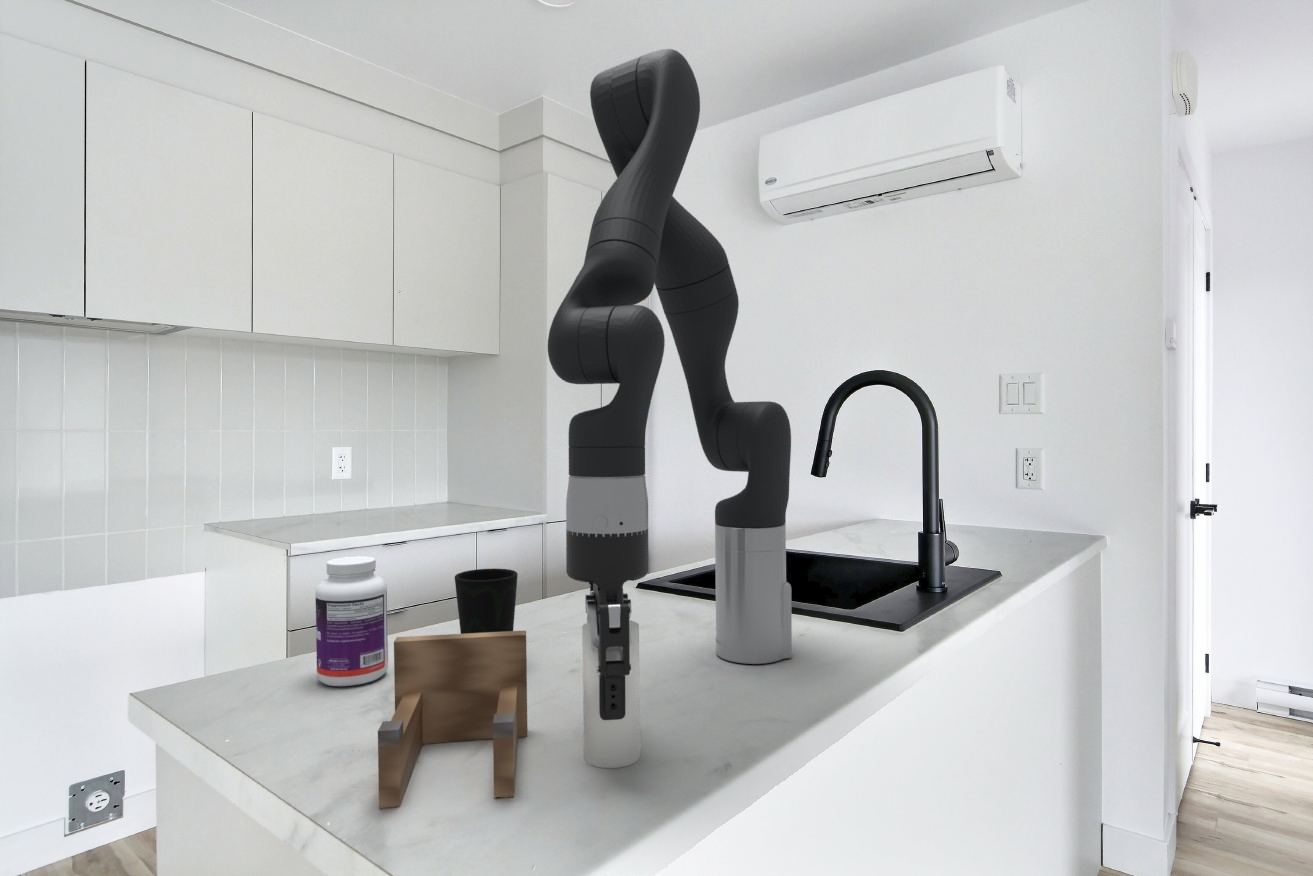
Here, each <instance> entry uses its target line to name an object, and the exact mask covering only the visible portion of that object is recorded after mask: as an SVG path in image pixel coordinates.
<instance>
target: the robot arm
mask: <svg viewBox="0 0 1313 876" xmlns="http://www.w3.org/2000/svg"><path fill="white" fill-rule="evenodd" d="M589 96H590V97H589V98H590V99H589V100H590V104H591V105H590V107H591V111H592V115H593V119H594V122H595V126H596V129H597V132H598V134H599V137H600V140H601V142H602V145H603V147H604V149H605V152H606V155H607V158H608V159H609V162H610V164H611V167H612V168H613V169H612V170H613V171H614V174H615V176H616V179H615V181H614V182H613V184H612V185H611V186H610V187H609V189H608V191H607V192H606V193H605V195H604V197H602V200H601V201H600V204H599V206H598V208H597V210H596V211H595V214H594V217H593V220H592V223H591V227H590V232H589V236H588V242H587V247H586V250H585V251H586V252H585V257H584V262H583V264H582V267H581V269H580V271H579V272H578V274H577V275H576V276H575V277H576V278H575V279H574V281H573V283H572V284H571V287H570V288H569V290H568V291H567V293H566V295H565V296H564V298H563V300H562V302H560V303H561V304H560V305H559V307H558V309H557V311H556V313H555V314H554V317H553V319H552V322H551V325H550V328H549V330H548V331H549V332H548V338H547V355H548V361H549V364H550V365H551V367H552V369H553V371H554V373H555V375H556V376H557V377H558V378H560V379H561V380H562V381H564V382H565V383H568V384H573V385H599V384H600V385H601V384H603V385H604V384H608V385H609V384H615V385H617V384H618V388H617V390H616V392H615V394H614V397H613V398H612V400H611V401H610V402H609V403H608V404H605V405H604V406H601V407H597V408H594V409H589V410H585V411H582V412H579V413H577V414H575V415H573V416H572V417H571V419H570V421H569V426H568V475H569V476H568V483H567V485H568V486H567V490H566V502H565V503H566V504H565V518H566V519H565V525H566V527H565V532H566V533H565V534H566V535H565V536H566V538H565V539H566V540H565V543H566V544H565V545H566V548H565V551H566V552H565V554H566V556H565V559H566V560H565V561H566V566H565V567H566V569H565V570H566V574H567V576H568V577H569V578H571V580H574V581H577V582H580V583H582V582H583V583H588V585H589V594H585V599H584V604H585V608H584V609H585V614H586V623H587V622H590V629H591V649H592V651H593V652H595V653H597V658H598V667H597V673H598V676H599V713H600V717H601V719H603V720H619V719H623V718H624V717H625V676H627V675H629V674H630V670H631V664H630V653H629V648H630V644H631V633H630V619H631V616H632V613H633V612H632V600H631V599H630V598H629V595H628V593H627V592H625V593H624V587H623V586H624V584H625V583H626V582H628V581H633V582H634V581H638V580H640V579H642V578H645V577H646V576H647V575H648V573H649V497H648V490H647V483H646V481H647V480H646V430H647V425H648V424H647V423H648V418H649V412H650V406H651V403H652V398H653V394H654V391H655V387H656V384H657V379H658V376H659V373H660V369H661V366H662V363H663V360H664V359H663V357H664V354H665V345H666V344H665V342H666V340H665V331H664V329H663V325H662V323H661V321H660V319H659V317H658V316H657V314H656V313H655V312H654V311H653V310H652V309H650V308H649V307H647V306H646V305H645V306H644V305H639V303H641V302H643V301H645V300H646V299H647V298H648V297H649V296H650V295H651V293H652V292H653V289H654V286H655V289H656V293H657V295H658V298H659V301H660V304H661V307H662V311H663V312H664V313H663V314H664V315H665V319H666V321H667V324H668V327H669V328H670V332H671V335H672V338H673V340H674V341H673V342H674V344H675V348H676V351H677V354H678V357H679V361H680V364H681V368H682V370H683V374H684V378H685V381H686V385H687V390H688V395H689V399H690V402H691V404H690V405H691V408H692V413H693V416H694V421H695V422H694V423H695V426H696V430H697V435H698V438H699V442H700V446H701V449H702V451H703V453H704V456H705V457H706V459H707V461H708V463H709V464H710V465H711V466H712V467H713V468H716V470H720V471H725V472H741V473H743V472H745V473H747V481H746V485H745V487H744V488H743V489H742V490H741V491H739V492H738V493H737V494H735V495H732V496H730V497H726V498H723V499H721V500H720V501H718V502H717V503H716V505H715V508H714V523H715V524H714V527H715V528H714V539H715V540H714V541H715V543H714V544H715V546H714V547H715V548H714V549H715V550H714V551H715V556H714V557H715V647H716V648H715V651H716V655H717V656H718V657H719V658H721V659H723V660H725V661H729V662H732V663H733V662H734V663H737V664H738V663H739V664H748V665H749V664H751V665H760V664H761V665H762V664H769V663H770V664H771V663H776V662H779V661H781V660H784V659H792V658H793V655H792V654H793V652H792V651H793V647H792V646H793V644H792V642H793V640H792V639H793V637H792V633H793V632H792V626H793V625H792V624H793V623H792V620H793V619H792V617H793V616H792V586H791V584H790V583H789V582H788V581H787V549H786V548H787V547H786V542H787V541H786V540H787V538H786V537H787V536H786V535H787V534H786V533H787V531H786V530H787V529H786V522H787V521H786V518H787V517H786V516H787V514H786V513H787V508H788V504H789V497H790V473H791V472H790V471H791V456H792V454H791V453H792V429H791V424H790V420H789V416H788V413H787V411H786V410H785V408H784V406H782V405H781V404H780V403H777V402H776V401H775V402H774V401H770V400H769V401H736V402H735V401H734V399H733V397H732V395H731V392H730V389H729V385H728V381H727V375H726V360H727V354H728V350H729V347H730V343H731V340H732V337H733V335H734V330H735V327H736V323H737V321H738V320H737V319H738V314H739V308H740V307H739V304H740V303H739V302H740V301H739V294H738V290H737V287H736V284H735V283H736V282H735V280H734V277H733V273H732V270H731V267H730V262H729V259H728V255H727V253H726V251H725V248H724V247H723V245H722V244H721V242H719V240H718V239H717V238H716V236H714V235H713V233H712V232H710V230H709V229H708V228H707V227H706V226H705V225H704V224H702V223H701V222H700V221H699V220H698V219H697V218H696V217H695V216H694V215H692V213H691V212H689V211H688V210H687V209H686V208H685V207H684V206H683V205H682V204H681V203H680V202H679V201H678V200H677V199H676V198H675V197H674V193H675V190H676V187H677V185H678V182H679V179H680V177H681V174H682V171H683V169H684V165H685V163H686V161H687V157H688V155H689V151H690V149H691V147H692V144H693V142H694V139H695V136H696V132H697V129H698V124H699V119H700V114H701V111H700V110H701V98H700V97H701V96H700V91H699V85H698V82H697V79H696V77H695V73H694V72H693V69H692V67H691V65H690V64H689V61H688V60H687V59H686V58H685V56H684V54H682V53H680V52H679V51H678V50H676V49H673V48H663V49H658V50H654V51H651V52H649V53H646V54H643V55H641V56H639V57H636V58H633V59H630V60H628V61H624V62H623V63H620V64H618V65H615V66H612V67H609V68H608V69H605V70H603V71H600V72H599V73H598V74H596V75H595V76H594V78H593V80H592V82H591V84H590V91H589ZM597 632H598V633H599V636H598V634H597ZM608 651H618V652H619V654H620V660H616V661H606V652H608Z"/></svg>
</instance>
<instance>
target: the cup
mask: <svg viewBox="0 0 1313 876" xmlns="http://www.w3.org/2000/svg"><path fill="white" fill-rule="evenodd" d="M518 575H519V574H518V572H517V571H515V570H513V569H508V568H479V569H471V570H466V571H462V572H459V573H456V574H455V575H454V585H455V593H456V594H455V595H456V602H457V612H458V621H459V631H460V634H467V633H486V632H505V631H514V627H515V615H516V614H515V611H516V598H517V590H518V589H517V588H518V587H517V586H518Z"/></svg>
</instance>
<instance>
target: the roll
mask: <svg viewBox="0 0 1313 876" xmlns="http://www.w3.org/2000/svg"><path fill="white" fill-rule="evenodd" d="M629 620H630V619H629ZM581 627H582V629H581V631H582V632H581V634H582V637H581V638H582V640H581V641H582V643H581V644H582V645H581V646H582V647H581V648H582V704H583V705H582V706H583V707H582V709H583V710H582V712H583V713H582V714H583V716H582V717H583V720H582V721H583V722H582V723H583V724H582V725H583V759H584V761H585V762H586V763H587V764H589V765H590V766H593V767H596V768H602V769H619V768H625V767H627V766H631V765H633V764H635V763H636V762H637V761H639V759H640V757H641V706H640V705H641V704H640V703H641V695H640V692H641V690H640V689H641V685H640V681H641V680H640V677H641V675H640V624H639V623H638V622H637V621H634V620H630V633H631V644H630V648H629V653H630V664H631V670H630V674H629V675H627V676H625V717H624V718H623V719H619V720H603V719H601V717H600V713H599V676H598V673H597V667H598V658H597V653H595V652H593V651H592V649H591V629H590V622H587V621H586V622H585V623H584V624H583V625H582V626H581ZM597 634H598V636H599V633H598V632H597ZM616 660H620V654H619V652H618V651H608V652H606V661H616Z"/></svg>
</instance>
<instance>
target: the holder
mask: <svg viewBox="0 0 1313 876" xmlns="http://www.w3.org/2000/svg"><path fill="white" fill-rule="evenodd" d="M527 662H528V659H527V630H513V631H505V632H486V633H467V634H461V633H452V634H451V633H448V634H433V635H431V634H430V635H429V634H428V635H414V636H413V635H412V636H411V635H410V636H396V638H395V639H394V641H393V668H394V671H393V673H394V674H393V675H394V679H393V680H394V681H393V682H394V713H393V715H392V717H391V720H386V721H382V722H381V725H380V726H379V728H378V730H377V759H378V760H377V761H378V762H377V763H378V764H377V765H378V766H377V767H378V773H377V774H378V809H385V808H396V807H397V808H398V807H401V804H402V802H403V799H404V797H405V793H406V791H407V788H408V786H409V782H410V780H411V778H412V774H413V771H414V769H415V767H416V764H417V761H418V758H419V756H420V752H421V750H422V746H423V745H426V744H427V745H428V744H442V743H452V742H453V743H455V742H456V743H457V742H467V741H468V742H469V741H481V740H492V741H493V742H492V743H493V744H492V745H493V748H492V749H493V752H492V753H493V759H492V760H493V761H492V762H493V799H496V798H495V797H501V798H502V797H505V798H512V797H513V798H514V797H515V785H516V774H517V773H516V770H517V757H518V755H517V754H518V742H519V741H518V740H519V738H520V737H523V738H524V737H528V683H527V682H528V679H527V678H528V675H527V674H528V673H527V672H528V671H527V664H528V663H527ZM501 798H500V799H501ZM502 799H503V798H502Z"/></svg>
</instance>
